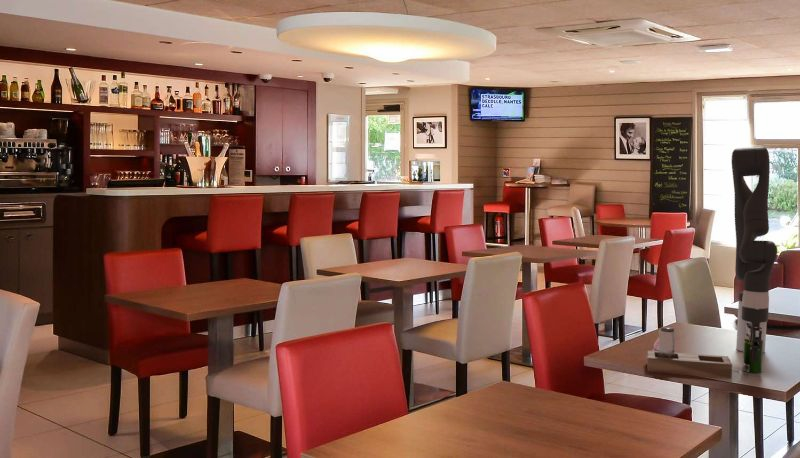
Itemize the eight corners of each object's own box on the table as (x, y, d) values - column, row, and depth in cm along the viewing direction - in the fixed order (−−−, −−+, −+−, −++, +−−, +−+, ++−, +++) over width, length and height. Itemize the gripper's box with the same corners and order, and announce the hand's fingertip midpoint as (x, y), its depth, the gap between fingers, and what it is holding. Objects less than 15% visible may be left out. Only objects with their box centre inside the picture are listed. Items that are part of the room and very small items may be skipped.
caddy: (647, 365, 262) (647, 350, 262) (727, 371, 255) (728, 356, 255) (647, 373, 251) (648, 358, 251) (731, 380, 245) (732, 364, 245)
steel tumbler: (657, 366, 258) (659, 326, 257) (673, 367, 257) (675, 327, 256) (657, 370, 254) (659, 329, 252) (674, 371, 252) (676, 330, 251)
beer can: (754, 376, 249) (756, 338, 248) (738, 373, 254) (740, 334, 253) (765, 374, 252) (767, 336, 251) (749, 370, 257) (751, 333, 256)
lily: (660, 356, 280) (647, 331, 280) (690, 348, 271) (676, 323, 271) (645, 372, 272) (631, 347, 271) (675, 365, 263) (660, 339, 263)
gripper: (739, 300, 259) (736, 353, 261) (745, 308, 246) (742, 364, 247) (765, 302, 257) (762, 355, 259) (772, 310, 243) (769, 366, 245)
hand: (752, 359), depth 253 cm, fingers open, 5 cm apart
